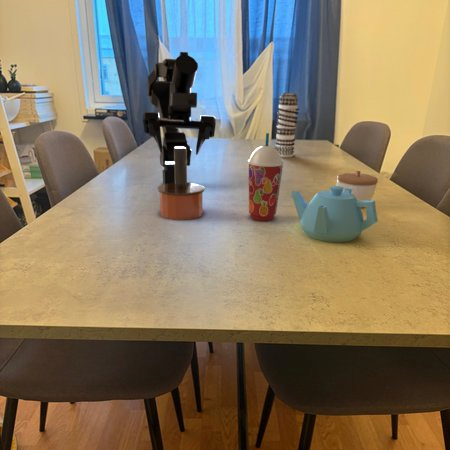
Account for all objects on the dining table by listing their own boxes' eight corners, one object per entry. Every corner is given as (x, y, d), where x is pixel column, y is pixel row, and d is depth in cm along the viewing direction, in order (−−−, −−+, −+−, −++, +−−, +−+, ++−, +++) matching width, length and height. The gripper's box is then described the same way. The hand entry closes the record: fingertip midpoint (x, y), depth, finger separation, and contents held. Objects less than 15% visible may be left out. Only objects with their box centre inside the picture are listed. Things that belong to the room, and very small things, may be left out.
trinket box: (346, 198, 128) (351, 165, 124) (379, 205, 121) (386, 171, 117) (326, 204, 121) (330, 170, 117) (360, 212, 115) (366, 177, 110)
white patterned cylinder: (295, 157, 188) (302, 94, 176) (274, 156, 188) (279, 93, 176) (293, 154, 196) (298, 93, 184) (272, 153, 196) (277, 92, 184)
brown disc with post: (181, 184, 115) (181, 142, 110) (213, 192, 108) (214, 148, 103) (148, 192, 107) (145, 147, 102) (180, 201, 101) (179, 153, 96)
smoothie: (281, 215, 111) (289, 132, 102) (274, 224, 104) (281, 136, 95) (250, 211, 114) (255, 130, 104) (241, 220, 107) (245, 134, 97)
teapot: (311, 247, 91) (318, 197, 86) (286, 225, 104) (291, 179, 99) (376, 243, 94) (386, 194, 89) (344, 222, 107) (351, 178, 102)
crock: (194, 206, 117) (193, 183, 114) (208, 217, 108) (208, 193, 105) (155, 209, 113) (154, 186, 110) (167, 221, 104) (166, 196, 101)
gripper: (142, 76, 107) (139, 131, 103) (217, 81, 109) (217, 135, 105) (145, 107, 118) (143, 157, 114) (213, 111, 120) (214, 161, 116)
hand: (179, 152), depth 112 cm, fingers open, 9 cm apart
